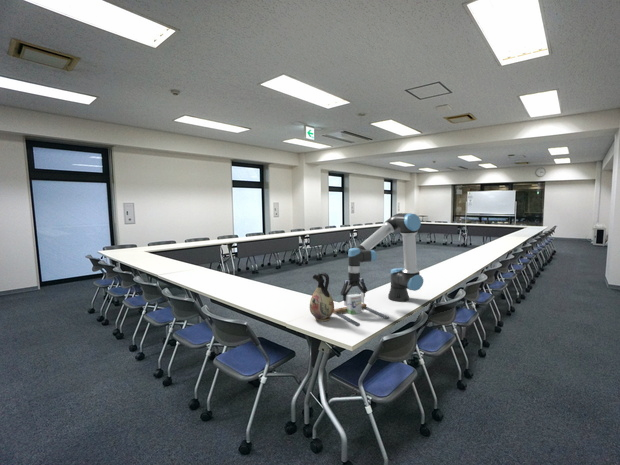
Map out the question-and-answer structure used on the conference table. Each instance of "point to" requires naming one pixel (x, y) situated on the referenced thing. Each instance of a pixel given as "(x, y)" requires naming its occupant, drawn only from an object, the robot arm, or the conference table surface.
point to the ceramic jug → (321, 299)
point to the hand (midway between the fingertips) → (354, 303)
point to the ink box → (354, 303)
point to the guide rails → (357, 322)
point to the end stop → (345, 309)
